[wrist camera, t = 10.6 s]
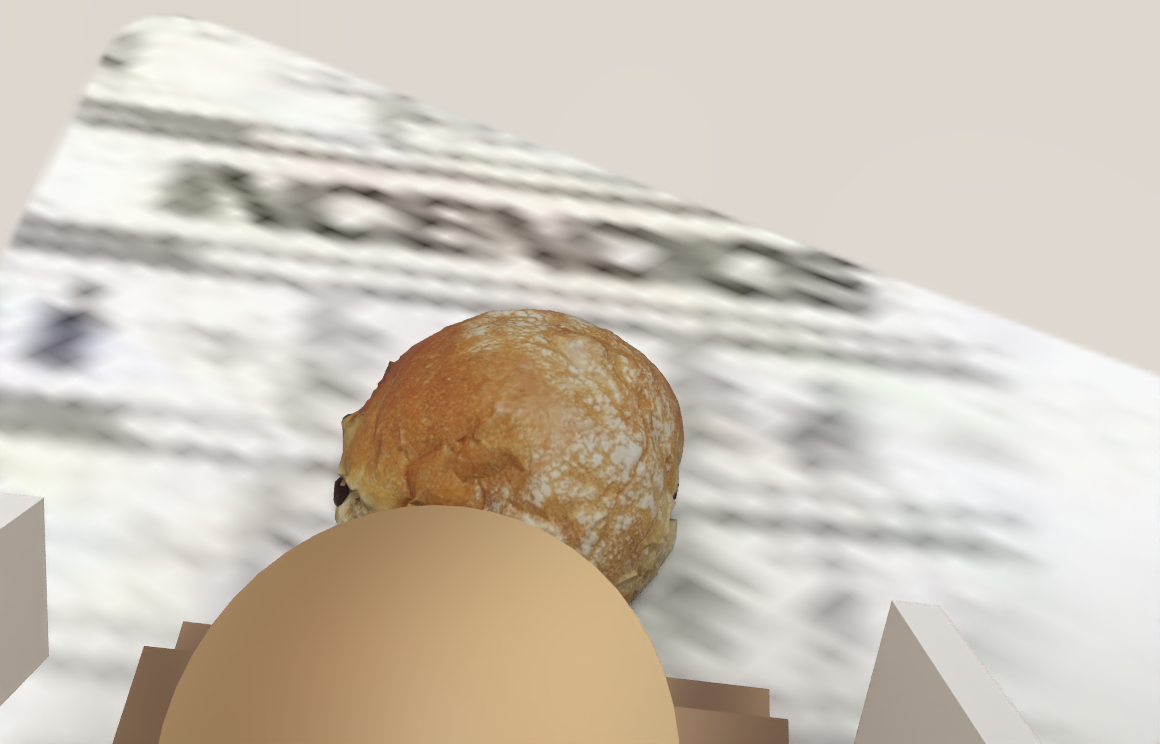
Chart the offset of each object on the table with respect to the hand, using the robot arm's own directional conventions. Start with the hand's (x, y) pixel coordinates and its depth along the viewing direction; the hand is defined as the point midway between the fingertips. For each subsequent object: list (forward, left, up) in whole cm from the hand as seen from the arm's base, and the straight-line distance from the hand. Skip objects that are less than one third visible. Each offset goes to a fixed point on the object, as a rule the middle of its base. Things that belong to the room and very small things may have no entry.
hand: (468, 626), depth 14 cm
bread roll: (0, -7, -13) cm, 14 cm away
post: (0, +2, -6) cm, 7 cm away
